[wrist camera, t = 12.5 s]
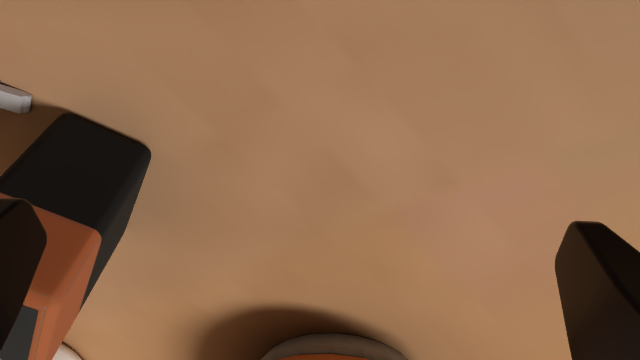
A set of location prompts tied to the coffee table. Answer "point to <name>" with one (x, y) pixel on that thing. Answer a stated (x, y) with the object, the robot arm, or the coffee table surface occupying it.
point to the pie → (332, 348)
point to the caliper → (14, 99)
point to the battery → (70, 222)
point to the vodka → (65, 353)
